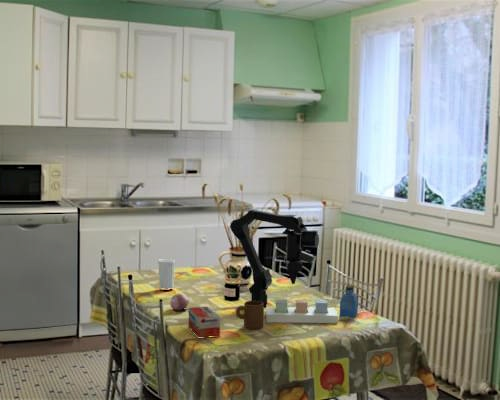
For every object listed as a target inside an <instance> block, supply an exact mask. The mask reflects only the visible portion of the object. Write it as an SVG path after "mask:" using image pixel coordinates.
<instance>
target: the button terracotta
mask: <svg viewBox="0 0 500 400" xmlns="http://www.w3.org/2000/svg"><path fill="white" fill-rule="evenodd" d="M295 307H296V313H307V307H308V300H306V299H295Z"/></svg>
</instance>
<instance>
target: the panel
mask: <svg viewBox="0 0 500 400" xmlns="http://www.w3.org/2000/svg"><path fill="white" fill-rule="evenodd" d="M265 312H266V313H265V314H266V323H299V324H300V323H303V324H304V323H306V324H307V323H309V324H338V323H339V315H338V312H337V310H336V308H335V307H327V313H316V311H315V306H314V307H311V306H310V307H309V306H307V313H296V306H287V312H276V306H266V307H265Z"/></svg>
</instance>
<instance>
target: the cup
mask: <svg viewBox="0 0 500 400" xmlns="http://www.w3.org/2000/svg"><path fill="white" fill-rule="evenodd" d="M175 263H176V260H175V258H160V259H158V260H157V264H158V277H159V288H160V287H161V288H165V289H168V288H173V289H174V282H175V281H174V280H175Z"/></svg>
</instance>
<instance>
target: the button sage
mask: <svg viewBox="0 0 500 400" xmlns="http://www.w3.org/2000/svg"><path fill="white" fill-rule="evenodd" d="M275 307H276V312H287V307H288V299H275Z"/></svg>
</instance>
